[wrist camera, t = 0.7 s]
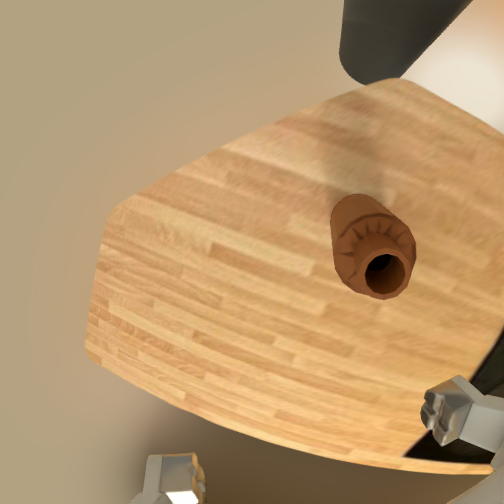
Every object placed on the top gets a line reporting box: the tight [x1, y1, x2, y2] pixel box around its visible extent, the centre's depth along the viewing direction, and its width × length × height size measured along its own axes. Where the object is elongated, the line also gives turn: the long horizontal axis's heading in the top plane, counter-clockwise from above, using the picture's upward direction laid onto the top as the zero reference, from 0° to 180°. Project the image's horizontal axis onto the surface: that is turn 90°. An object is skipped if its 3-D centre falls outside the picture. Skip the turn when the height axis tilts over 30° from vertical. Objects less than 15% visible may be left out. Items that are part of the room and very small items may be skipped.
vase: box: [330, 194, 416, 300], centre depth 26 cm, size 6×6×17 cm
